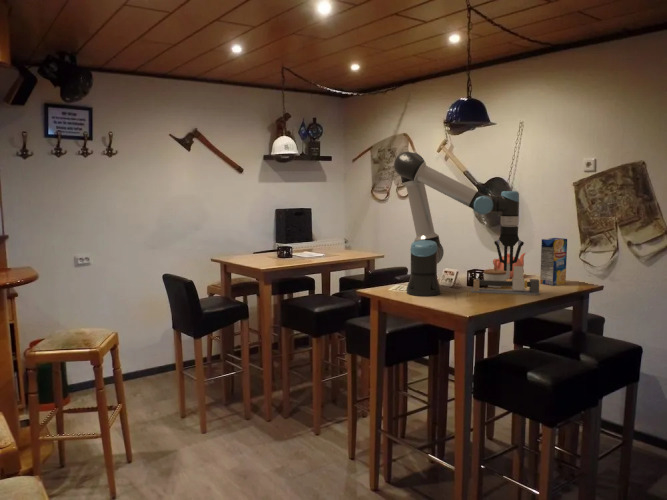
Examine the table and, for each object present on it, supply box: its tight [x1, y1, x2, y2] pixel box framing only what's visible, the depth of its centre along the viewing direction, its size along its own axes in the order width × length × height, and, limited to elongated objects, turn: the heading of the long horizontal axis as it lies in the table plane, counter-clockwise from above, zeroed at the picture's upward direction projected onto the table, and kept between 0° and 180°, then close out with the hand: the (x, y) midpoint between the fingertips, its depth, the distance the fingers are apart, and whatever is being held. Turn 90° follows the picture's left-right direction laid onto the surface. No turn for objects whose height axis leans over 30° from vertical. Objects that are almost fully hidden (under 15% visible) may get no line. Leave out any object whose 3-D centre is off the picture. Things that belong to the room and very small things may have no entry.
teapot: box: [492, 252, 526, 279], centre depth 281 cm, size 22×15×12 cm
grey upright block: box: [511, 266, 526, 290], centre depth 238 cm, size 5×5×10 cm
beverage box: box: [539, 237, 568, 287], centre depth 259 cm, size 7×11×22 cm, turn 125°
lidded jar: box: [483, 266, 507, 289], centre depth 253 cm, size 11×11×9 cm
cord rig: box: [470, 278, 540, 296], centre depth 240 cm, size 29×7×6 cm, turn 76°
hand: (507, 278), depth 239 cm, fingers closed
